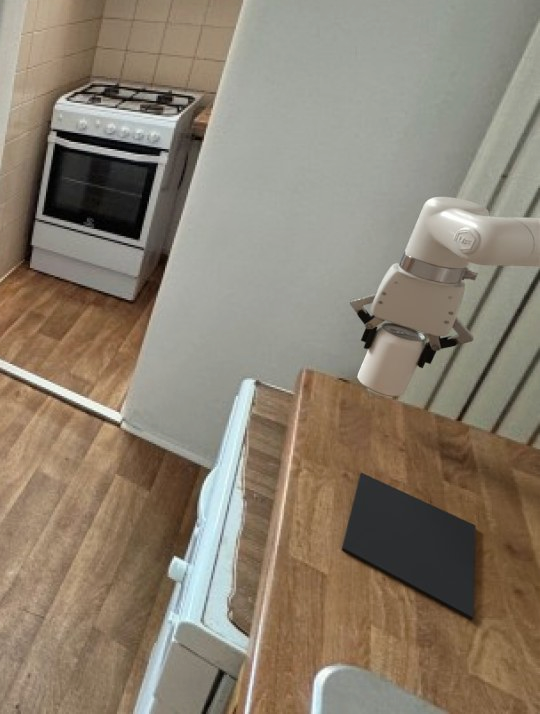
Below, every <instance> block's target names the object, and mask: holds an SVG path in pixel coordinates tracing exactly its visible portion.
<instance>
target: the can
mask: <svg viewBox="0 0 540 714" xmlns="http://www.w3.org/2000/svg"><path fill="white" fill-rule="evenodd" d="M425 340H426V337H425V335H424V334H423V333H422V332H420V331H417V330H414V329H411V328H408V327H404V326H401V325H398V324H395V323H392V322H384V323H381V327H379V328H377V330H376V333H375V336H374V338H373V341H372V343H371V345H370V348H369V349H367V350H366V351H367V352H366V353H365V356H364V358H363V361H362V362H361V363H362V364H361V366H360V368H359V371H358V373H357V379H358V381H359V383H360V384H361V385H362V386H363V387H365V388H367V389H368V390H369V391H372V392H374V393H376V394H380V395H382V396H386V397H391V398H392V397H394V398H396V397H397V398H398V397H400V396H401V397H402V396H403V395H404V394H405V392H406V391H407V388H408V386H409V384H410V382H411V380H412V378H413V375H414V373H415V371H416V369H417V367H418V366H417V364H418V362H419V360H420V358H421V355H422V353H423V351H424V348H425V344H426V343H425Z"/></svg>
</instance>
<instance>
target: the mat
mask: <svg viewBox="0 0 540 714" xmlns="http://www.w3.org/2000/svg"><path fill="white" fill-rule="evenodd" d="M341 551H343V552H344V553H346V554H348V555H350V556H352V557H354V558H357V559H358V560H359V561H362V562H363V563H365V564H367V565H369V566H370V567H372V568H374V569H376V570H378V571H379V572H382V573H383V574H384V575H388V576H389V577H390V578H393V579H395V580H396V581H398V582H400V583H402V584H404V585H406V586H408V587H410V588H411V589H413V590H415V591H417V592H419V593H421V594H422V595H424V596H426V597H428V598H430V599H432V600H434V601H435V602H438V603H439V604H441V605H443V606H445V607H446V608H449V609H450V610H452V611H454V612H456V613H458V614H460V615H461V616H463V617H466V618H467V619H469V620H471V621H472V620H474V611H475V609H474V608H475V567H476V565H475V564H476V562H475V561H476V524H474V523H472V522H470V521H467V520H465V519H463V518H461V517H458V516H456V515H454V514H452V513H450V512H448V511H446V510H443V509H441V508H439V507H437V506H435V505H433V504H432V503H431V504H430V503H429V502H427V501H424V500H422V499H419V498H417V497H415V496H413V495H411V494H409V493H407V492H404V491H403V490H401V489H399V488H396V487H393V486H392V485H389V484H388V483H386V482H383V481H381V480H378V479H377V478H374V477H372V476H370V475H368V474H365V473H363V472H360V474H359V478H358V481H357V486H356V490H355V494H354V498H353V502H352V505H351V510H350V513H349V518H348V522H347V526H346V531H345V534H344V538H343V542H342V547H341Z"/></svg>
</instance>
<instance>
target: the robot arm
mask: <svg viewBox="0 0 540 714" xmlns="http://www.w3.org/2000/svg"><path fill="white" fill-rule="evenodd" d="M469 263H471V264H474V265H480V266H491V267H492V266H493V267H494V266H495V267H496V266H498V267H511V266H512V267H513V266H514V267H538V268H539V267H540V217H520V216H519V217H515V216H512V217H511V216H492V215H491V216H490V211H489V210H488V208H486V207H485V206H484V205H481V204H480V203H476V202H473V201H472V200H471V201H470V200H466V199H462V198H458V197H452V196H451V197H450V196H436V197H431V198H429V199H428V200H426V201H425V202H424V204H423V206H422V208H421V211H420V213H419V216H418V218H417V221H416V223H415V225H414V227H413V230H412V232H411V235H410V237H409V239H408V242H407V245H406V247H405V250H404V252H403V254H402V257H401V259H400V261H399V263H398V262H396V263H393V264H391V266H390V268H389V269H388V270H387V272H386V273H385V274H384V276H383V278H382V280H381V282H380V284H379V285H378V288H377V289H376V292H375V293H371V294H367V295H363V296H359V297H355V298H351V299H350V300H349V305H350V306H351V308H352V309H353V311H354V312H355V313H356V315H357V317H358V318H359V319H360V321H361V322H362V323H363V325H364V331H363V333H362V336H361V338H360V342H363V343H364V345H363V349H365V350H368V349H369V348H370V345H371V343H372V341H373V338H374V336H375V333H376V331H377V330H378V327H379V325H381V324H383V322H385V321H386V322H388V323H395V324H398V325H401V326H404V327H408V328H411V329H414V330H416V331H418V332H420V333H424V334H427V337H428V341H427V342H425V343H424V344H425V348H424V351H423V353H422V355H421V358H420V360H419V362H418V364H417V367H418V368H420V369H423V368H424V367H425V364H429V365H431V364H432V363H433V360H434V358H435V355H436V354H437V352H438V351H439V352H440V351H441V350H443V349H449V348H453V347H456V346H457V345H463V344H467V343H471V342H474V334H472V333H471V331H470V330H469V329H468V328H467V327H466V326H465V325H464V323H463V322H462V321H461V320H460V319H459V318H458V317H457V316H458V314H459V312H460V308H461V305H462V302H463V299H464V294H465V289H466V282H465V280H471V281H476V279H477V276H478V274H479V273H478V272H475V271H472V270H470V269H469V268H468V266H469ZM370 304H371V305H370ZM366 305H370V313H369V312H368V310H367V309H366V308H365V307H364V306H366ZM452 329H453V330H454V331H455V332H456V334H455V335H449V334H450V333H451V331H452ZM448 335H449V336H448Z"/></svg>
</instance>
